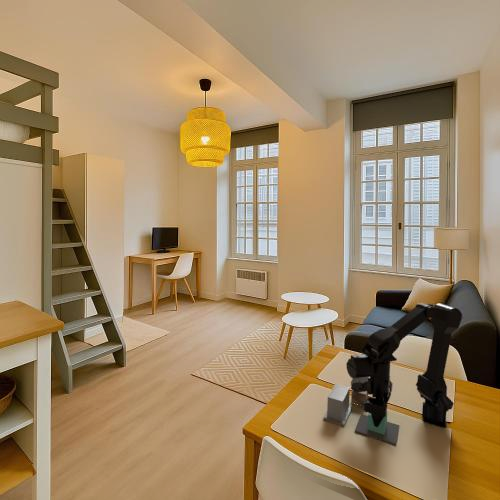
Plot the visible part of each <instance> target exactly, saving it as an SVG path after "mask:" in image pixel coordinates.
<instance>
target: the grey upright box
mask: <svg viewBox="0 0 500 500" xmlns="http://www.w3.org/2000/svg"><path fill="white" fill-rule="evenodd" d="M350 390H351V386H350V387H349V386H345V385H341V384H337V383H335V384H334V386H333V388H332V389H331V391H330V392H329V395H328V396H327V404H326V405H327V408H326V412H325V413H324V416H323V419H322V420H323V421H327V422H330V423H333V424H336V425H338V426H340V427H346V423H347V422H348V419H349V416H350V415H349V414H351V412H352V410H351V409H353V404H350V393H351V391H350Z"/></svg>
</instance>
